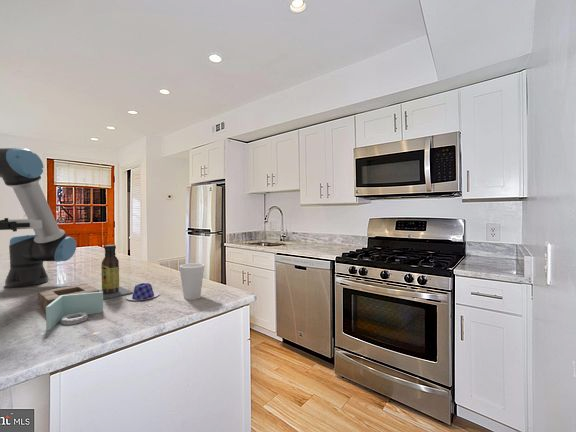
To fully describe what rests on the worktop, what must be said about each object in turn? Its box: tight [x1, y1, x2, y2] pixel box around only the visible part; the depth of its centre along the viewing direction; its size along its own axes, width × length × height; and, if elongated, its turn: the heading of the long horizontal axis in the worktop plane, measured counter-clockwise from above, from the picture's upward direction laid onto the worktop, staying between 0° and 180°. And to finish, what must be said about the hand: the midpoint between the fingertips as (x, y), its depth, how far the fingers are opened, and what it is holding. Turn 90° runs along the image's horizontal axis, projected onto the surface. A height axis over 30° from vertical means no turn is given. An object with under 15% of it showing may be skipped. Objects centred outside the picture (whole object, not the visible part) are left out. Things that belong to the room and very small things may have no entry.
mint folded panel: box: [45, 292, 104, 331], centre depth 91 cm, size 12×12×8 cm
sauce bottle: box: [101, 244, 120, 294], centre depth 120 cm, size 6×6×20 cm
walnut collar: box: [37, 283, 100, 313], centre depth 106 cm, size 15×15×5 cm
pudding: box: [125, 282, 160, 301], centre depth 116 cm, size 12×12×5 cm
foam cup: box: [179, 262, 205, 301], centre depth 115 cm, size 10×9×13 cm
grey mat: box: [98, 285, 134, 301], centre depth 120 cm, size 14×12×1 cm
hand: (37, 223), depth 104 cm, fingers open, 13 cm apart
